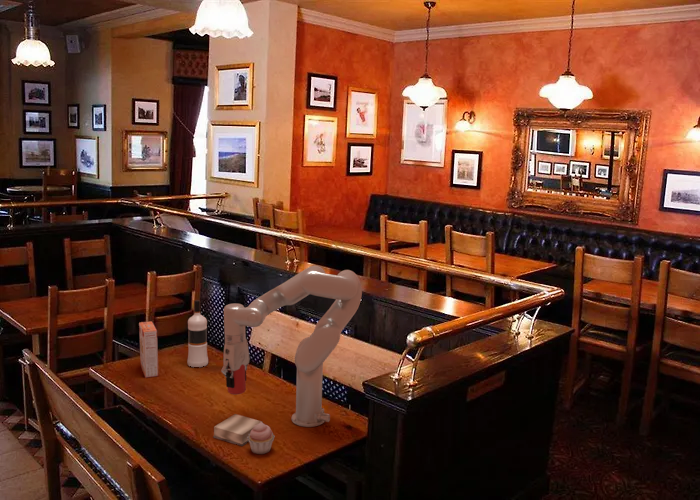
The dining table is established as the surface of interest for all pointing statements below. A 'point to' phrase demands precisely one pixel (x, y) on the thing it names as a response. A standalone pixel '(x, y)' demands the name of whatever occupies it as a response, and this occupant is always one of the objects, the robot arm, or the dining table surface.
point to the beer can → (238, 381)
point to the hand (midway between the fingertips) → (236, 383)
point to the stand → (235, 429)
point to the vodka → (197, 338)
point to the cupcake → (261, 438)
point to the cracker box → (148, 349)
